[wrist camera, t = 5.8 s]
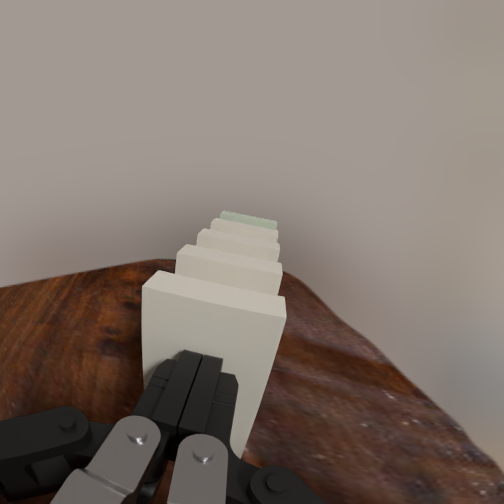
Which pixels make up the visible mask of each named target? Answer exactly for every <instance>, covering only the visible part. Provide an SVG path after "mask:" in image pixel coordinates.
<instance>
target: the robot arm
mask: <svg viewBox="0 0 504 504" xmlns="http://www.w3.org/2000/svg"><path fill="white" fill-rule="evenodd" d="M222 365H223V358H219V357H214V356H210V355H206V354H204V356H203V354H201V353H197V352H193V351H189V350H185V349H184V350H183V352H182V354H181V356H180V358H179V360H178V361H175V360H171V359H166V360H165V361H163V362H162V363H160V364H159V365H158V366H157V368H156V369H155V371H154V373H153V375H152V377H151V379H150V380H149V382H148V385H147V386H146V388H145V390H144V392H143V393H142V395H141V397H140V399H139V401H138V403H137V405H136V407H135V408H134V410H133V412H132V414H131V415H130V416H128V417H125V418H123V419H121V420H120V421H118V422H117V423H114V424H106V423H98V422H92V421H88V420H87V418H86V416H85V415H84V414H83V413H82V412H81V411H80V410H78V409H76V408H74V407H69V406H63V407H58V408H54V409H51V410H47V411H43V412H39V413H35V414H31V415H26V416H22V417H17V418H13V419H8V420H3V421H0V504H8V502H10V501H16V500H21V499H26V498H31V497H36V496H40V495H44V494H48V493H52V492H56V491H58V492H57V494H56V495H55V497H54V498H53V500H52V501H51V503H50V504H152V502H153V500H154V498H155V495H156V493H157V491H158V489H159V486H160V484H161V482H162V480H163V477H164V472H165V470H166V467H167V464H168V461H169V460H171V461H174V462H175V466H174V471H173V476H172V481H171V486H170V491H169V496H168V501H167V504H326V503H325V502H324V501H323V500H321V499H320V498H319V497H318V496H317V495H316V494H315V493H314V492H313V491H312V490H311V489H310V488H309V487H308V486H307V485H306V484H305V483H304V482H303V481H302V480H301V479H300V478H299V477H298V476H297V475H296V474H295V473H294V472H292V471H291V470H289V469H287V468H285V467H281V466H267V467H263V468H259V467H256V466H254V465H251V464H249V463H247V462H245V461H243V460H241V459H240V458H239V457H237V456H236V454H235V453H234V452H233V450H232V448H231V445H230V436H231V430H232V424H233V418H234V412H235V406H236V400H237V394H238V387H239V384H238V382H237V379H236V377H235V375H234V374H229V373H225V372H221V371H222Z"/></svg>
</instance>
